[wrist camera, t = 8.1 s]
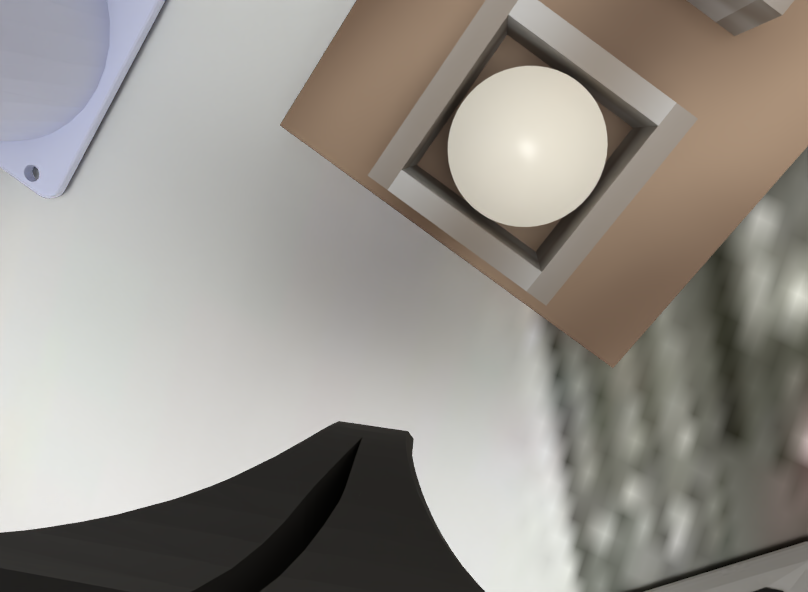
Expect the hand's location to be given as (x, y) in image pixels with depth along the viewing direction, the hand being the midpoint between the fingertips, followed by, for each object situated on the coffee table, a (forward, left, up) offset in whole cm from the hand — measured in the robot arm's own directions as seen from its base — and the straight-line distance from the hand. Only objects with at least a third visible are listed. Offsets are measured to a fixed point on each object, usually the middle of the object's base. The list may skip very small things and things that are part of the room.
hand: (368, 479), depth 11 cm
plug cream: (-1, +6, -9) cm, 11 cm away
